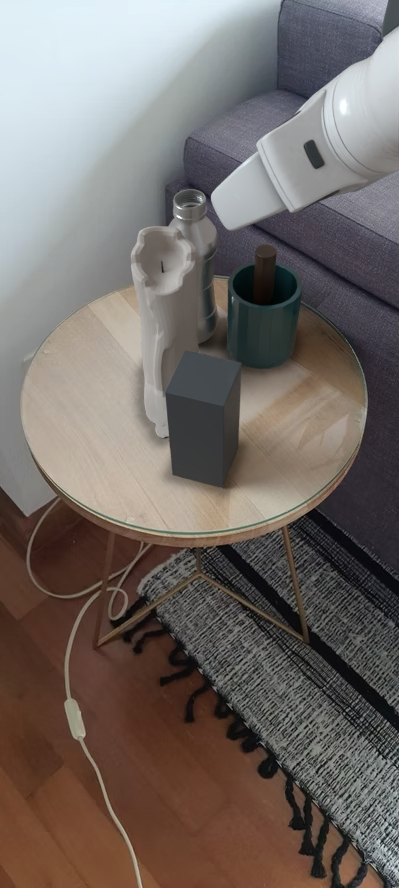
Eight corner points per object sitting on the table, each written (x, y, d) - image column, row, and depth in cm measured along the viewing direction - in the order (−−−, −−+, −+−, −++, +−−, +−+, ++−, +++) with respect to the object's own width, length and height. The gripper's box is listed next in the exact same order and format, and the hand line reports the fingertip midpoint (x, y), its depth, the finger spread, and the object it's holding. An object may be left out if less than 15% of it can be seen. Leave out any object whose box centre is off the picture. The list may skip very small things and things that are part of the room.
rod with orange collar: (257, 325, 91) (263, 235, 80) (281, 339, 89) (290, 249, 78) (238, 341, 89) (241, 252, 78) (262, 356, 87) (268, 266, 76)
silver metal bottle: (161, 343, 90) (149, 209, 74) (181, 310, 94) (174, 176, 78) (207, 356, 89) (205, 222, 73) (225, 322, 92) (227, 188, 77)
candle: (143, 439, 81) (125, 308, 65) (144, 355, 89) (128, 221, 73) (204, 436, 81) (201, 305, 65) (200, 352, 89) (196, 218, 73)
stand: (238, 447, 80) (241, 362, 69) (223, 488, 76) (224, 406, 65) (189, 435, 81) (185, 349, 70) (172, 475, 77) (164, 391, 66)
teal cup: (301, 329, 91) (309, 268, 84) (285, 375, 86) (292, 315, 78) (237, 315, 93) (239, 254, 85) (218, 360, 88) (218, 300, 80)
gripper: (414, 56, 61) (319, 123, 73) (249, 143, 53) (174, 202, 65) (443, 123, 62) (345, 178, 75) (287, 217, 55) (206, 262, 67)
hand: (264, 190), depth 70 cm, fingers open, 8 cm apart
